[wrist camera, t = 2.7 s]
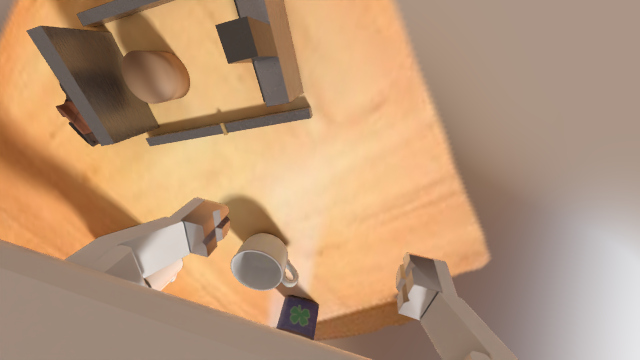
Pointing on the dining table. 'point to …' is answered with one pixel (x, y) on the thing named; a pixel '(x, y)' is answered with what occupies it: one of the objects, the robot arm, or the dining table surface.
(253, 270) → the teacup
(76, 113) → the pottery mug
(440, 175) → the dining table surface
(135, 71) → the brown short cylinder
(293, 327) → the flask
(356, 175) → the dining table surface
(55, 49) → the press frame
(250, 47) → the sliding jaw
